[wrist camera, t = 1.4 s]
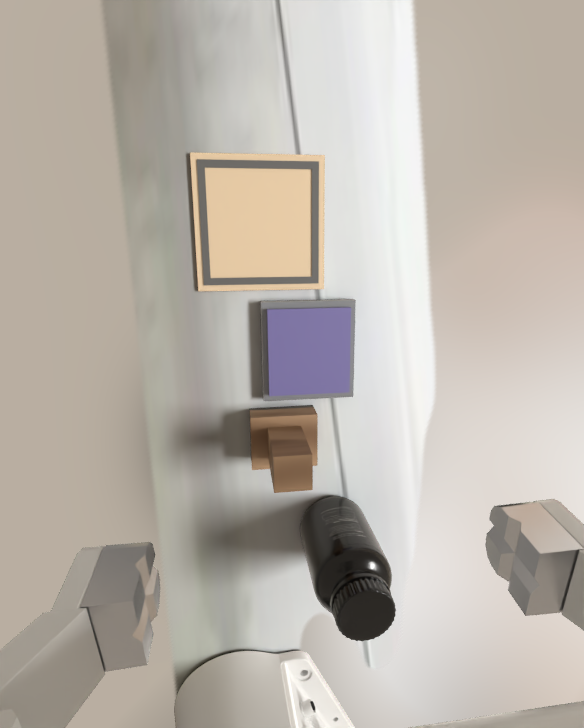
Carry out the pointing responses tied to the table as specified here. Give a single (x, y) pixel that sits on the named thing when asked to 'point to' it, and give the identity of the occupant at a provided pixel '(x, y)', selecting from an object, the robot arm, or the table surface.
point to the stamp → (285, 445)
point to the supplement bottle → (348, 568)
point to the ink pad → (307, 349)
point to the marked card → (258, 221)
